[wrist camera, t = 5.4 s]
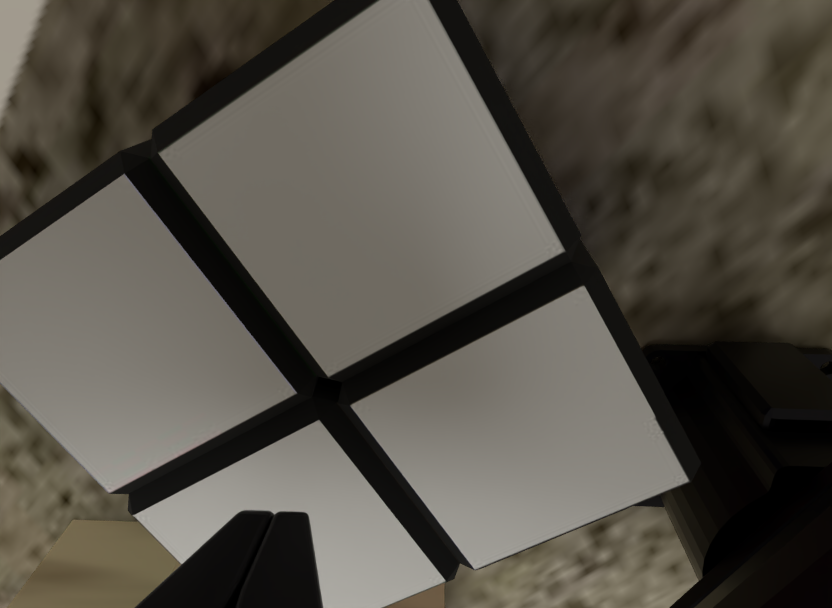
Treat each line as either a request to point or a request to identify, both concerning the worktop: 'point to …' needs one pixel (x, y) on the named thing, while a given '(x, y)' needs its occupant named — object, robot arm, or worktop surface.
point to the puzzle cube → (339, 316)
